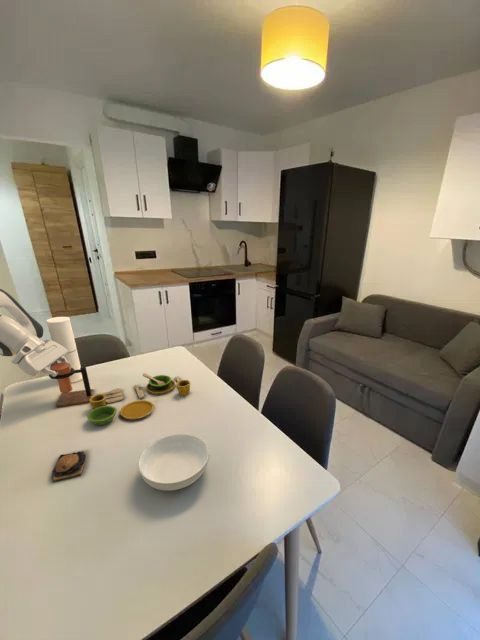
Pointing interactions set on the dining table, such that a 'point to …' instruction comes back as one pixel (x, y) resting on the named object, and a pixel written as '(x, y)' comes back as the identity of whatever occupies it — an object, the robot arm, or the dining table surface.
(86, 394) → the cup holder
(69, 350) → the container
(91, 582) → the dining table surface
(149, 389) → the tableware set
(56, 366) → the orange wooden peg
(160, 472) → the serving bowl
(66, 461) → the open sandwich
